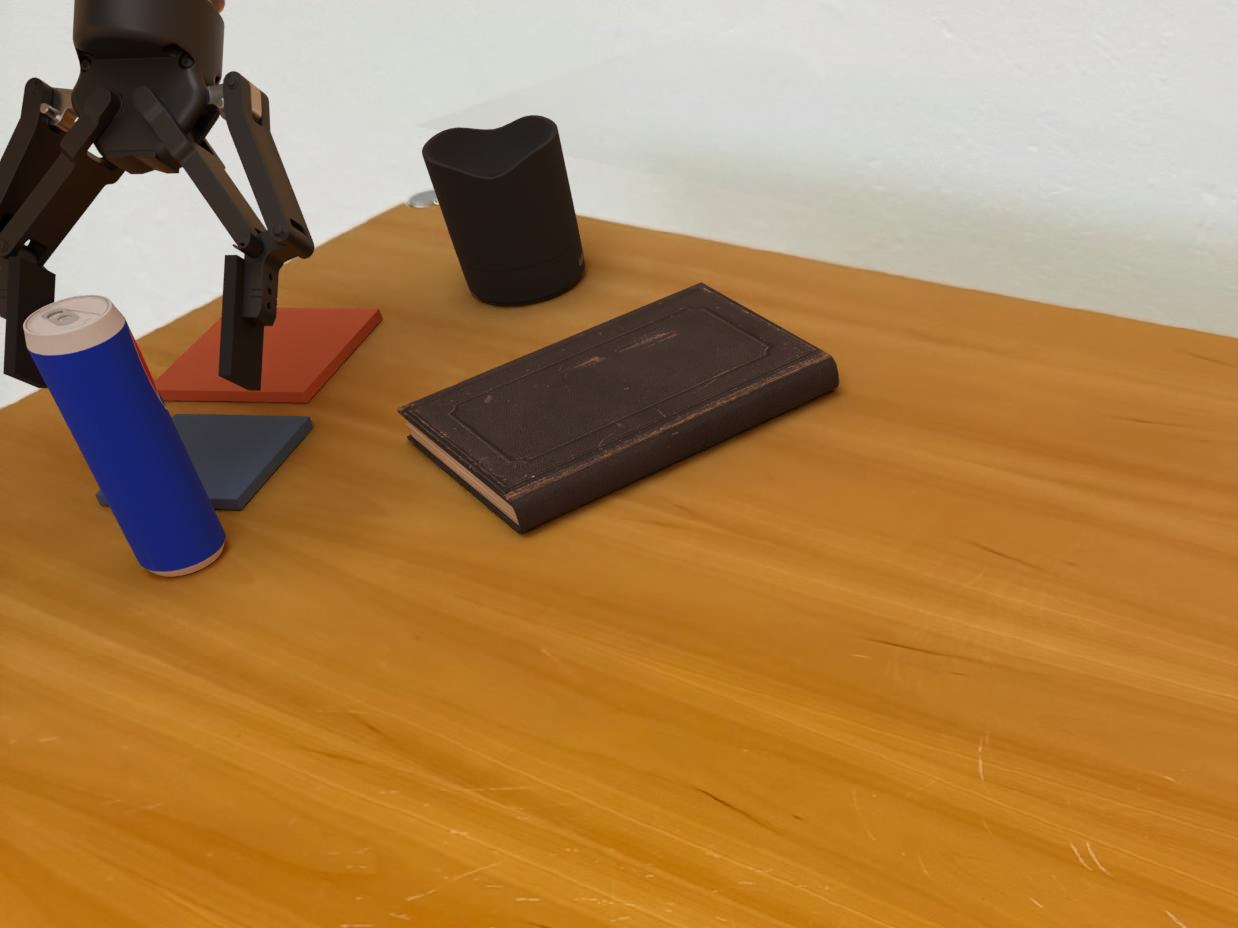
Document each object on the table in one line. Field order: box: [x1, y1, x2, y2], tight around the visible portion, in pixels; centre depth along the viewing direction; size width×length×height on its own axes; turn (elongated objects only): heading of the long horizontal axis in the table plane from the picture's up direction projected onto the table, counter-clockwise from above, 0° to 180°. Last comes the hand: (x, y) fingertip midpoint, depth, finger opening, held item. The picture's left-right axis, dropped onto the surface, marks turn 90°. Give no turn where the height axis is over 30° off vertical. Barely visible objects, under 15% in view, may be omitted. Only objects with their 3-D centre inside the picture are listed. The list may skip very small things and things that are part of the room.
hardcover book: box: [396, 281, 840, 534], centre depth 103 cm, size 16×23×2 cm
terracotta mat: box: [154, 307, 383, 404], centre depth 114 cm, size 12×12×1 cm
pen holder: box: [421, 114, 586, 307], centre depth 115 cm, size 9×9×10 cm
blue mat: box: [94, 413, 314, 511], centre depth 104 cm, size 10×10×1 cm
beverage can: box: [23, 294, 227, 578], centre depth 91 cm, size 5×5×15 cm
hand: (131, 383), depth 91 cm, fingers open, 13 cm apart
